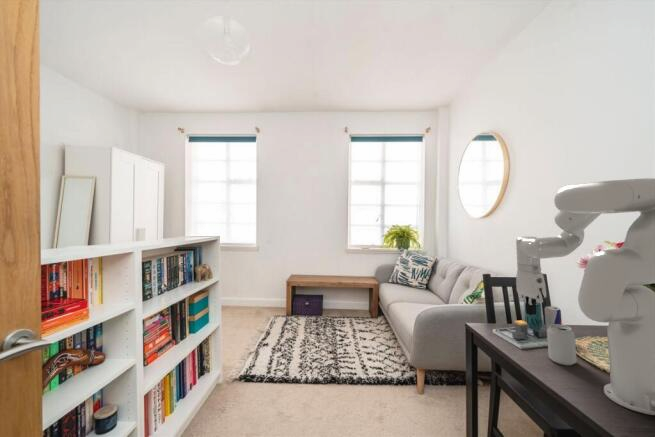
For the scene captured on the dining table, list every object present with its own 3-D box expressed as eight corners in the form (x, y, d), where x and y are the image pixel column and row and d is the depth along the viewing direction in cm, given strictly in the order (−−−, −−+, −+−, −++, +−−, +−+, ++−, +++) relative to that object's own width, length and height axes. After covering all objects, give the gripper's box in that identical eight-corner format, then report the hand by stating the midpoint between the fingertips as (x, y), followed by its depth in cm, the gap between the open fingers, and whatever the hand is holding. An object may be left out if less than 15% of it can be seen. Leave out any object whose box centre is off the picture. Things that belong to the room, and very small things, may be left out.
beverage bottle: (521, 329, 127) (518, 284, 127) (530, 325, 129) (527, 282, 130) (537, 333, 121) (534, 287, 121) (546, 330, 124) (543, 284, 124)
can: (564, 368, 94) (562, 332, 94) (543, 357, 101) (541, 324, 101) (582, 364, 95) (580, 329, 95) (560, 354, 103) (558, 321, 103)
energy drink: (566, 339, 114) (564, 309, 114) (552, 339, 114) (550, 310, 114) (555, 334, 120) (553, 305, 120) (543, 334, 120) (541, 306, 120)
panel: (555, 345, 110) (554, 333, 110) (520, 348, 109) (519, 337, 109) (523, 329, 126) (522, 319, 126) (492, 332, 125) (492, 322, 125)
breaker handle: (528, 335, 116) (527, 322, 116) (521, 336, 116) (520, 323, 116) (522, 332, 119) (521, 320, 119) (515, 333, 119) (514, 320, 119)
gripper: (554, 270, 104) (556, 320, 104) (523, 264, 119) (525, 307, 119) (535, 272, 104) (537, 321, 104) (506, 265, 118) (508, 308, 119)
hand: (531, 313), depth 112 cm, fingers closed
